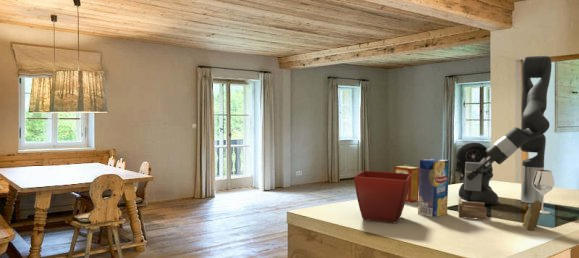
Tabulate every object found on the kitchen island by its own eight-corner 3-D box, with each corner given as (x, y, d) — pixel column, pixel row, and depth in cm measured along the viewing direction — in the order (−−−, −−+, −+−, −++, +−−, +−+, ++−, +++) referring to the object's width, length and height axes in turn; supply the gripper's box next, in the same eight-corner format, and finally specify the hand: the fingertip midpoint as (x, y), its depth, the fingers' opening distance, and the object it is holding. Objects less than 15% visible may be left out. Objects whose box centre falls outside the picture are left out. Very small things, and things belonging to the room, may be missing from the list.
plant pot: (405, 226, 158) (406, 179, 158) (352, 221, 165) (353, 175, 165) (410, 216, 176) (411, 173, 176) (362, 211, 183) (363, 170, 183)
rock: (541, 226, 154) (555, 219, 160) (526, 204, 158) (539, 198, 164) (517, 238, 162) (531, 231, 168) (503, 217, 166) (516, 211, 171)
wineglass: (556, 215, 186) (558, 172, 185) (534, 213, 187) (536, 171, 187) (548, 211, 194) (550, 169, 193) (528, 209, 195) (530, 169, 195)
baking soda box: (393, 198, 213) (394, 165, 213) (402, 197, 217) (403, 165, 217) (409, 202, 206) (410, 167, 205) (418, 201, 210) (419, 167, 209)
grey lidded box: (464, 188, 184) (465, 161, 183) (480, 189, 182) (481, 162, 181) (464, 190, 179) (465, 162, 179) (481, 191, 177) (482, 163, 177)
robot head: (512, 205, 202) (502, 141, 201) (474, 211, 202) (464, 148, 202) (484, 193, 232) (475, 138, 231) (451, 199, 232) (442, 143, 232)
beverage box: (447, 213, 183) (449, 160, 182) (433, 217, 175) (435, 161, 175) (432, 210, 188) (433, 158, 187) (417, 213, 181) (419, 159, 180)
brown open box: (458, 211, 188) (458, 198, 188) (483, 213, 184) (484, 200, 184) (458, 217, 177) (459, 203, 176) (486, 219, 173) (486, 205, 173)
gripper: (492, 142, 184) (460, 169, 188) (496, 143, 171) (461, 173, 175) (506, 155, 182) (473, 182, 187) (511, 158, 169) (475, 187, 173)
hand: (468, 177), depth 181 cm, fingers closed on grey lidded box, 5 cm apart
